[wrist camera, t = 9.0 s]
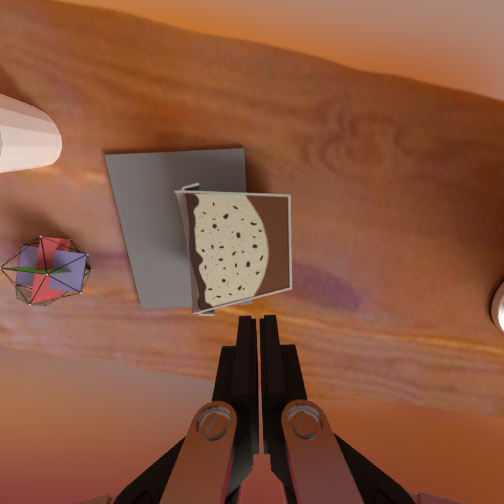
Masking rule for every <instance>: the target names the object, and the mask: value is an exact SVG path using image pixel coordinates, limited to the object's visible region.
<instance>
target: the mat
mask: <svg viewBox="0 0 504 504" xmlns="http://www.w3.org/2000/svg"><path fill="white" fill-rule="evenodd" d="M104 156H105V160H106V165H107V169H108V173H109V177H110V181H111V185H112V189H113V194H114V198H115V202H116V206H117V210H118V214H119V218H120V222H121V227H122V231H123V235H124V239H125V243H126V247H127V251H128V256H129V260H130V264H131V268H132V272H133V276H134V280H135V285H136V289H137V293H138V297H139V301H140V305H141V309H150V308H173V307H192V293H191V280H190V269H189V260H188V252H187V245H186V238H185V232H184V226H183V220H182V215H181V210H180V206H179V202H178V198H177V195H176V193H175V192H174V191H179V190H182V187H184V186H188V185H192V184H195V183H199V188H200V191H213V192H240V193H247V188H246V169H245V149H244V148H238V149H217V150H196V151H175V152H154V153H134V154H113V155H104ZM242 304H252V300H248V301H244V302H241V303H237V304H233V305H242Z"/></svg>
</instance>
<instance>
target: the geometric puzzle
mask: <svg viewBox="0 0 504 504" xmlns="http://www.w3.org/2000/svg"><path fill="white" fill-rule="evenodd" d="M39 238H40V244H39V243H35V244H39V248H38V247H31V246H30V245H31V244H26V245H29V246H24V244H23V245H21V246H22V247H21V252H20V259H19V265H18V267H11V268H1V267H3V266H4V265H5V263H6V262H7V261H8V260H7V261H6V262H5V263H4V264H3V265H2V266H1V267H0V269H1V270H2V269H7V270H14V271H17V277H16V283H15V285H16V296H17V299H19V300H21V301H23V302H25V303H27V304H29V305H39V306H47V305H49V304H50V303H52V302H54V301H55V300H57V299H59V298H62V297H65V296H63V295H64V294H63V295H62V296H61V294H62V290H63V291H67V292H68V291H71V292H79V293H82V290H83V289H82V286H83V279H84V276H85V275H84V273H85V271H86V270H90V271H91V270H92V269H85V267H86V264H87V263H86V261H87V256H88V254H85V253H84V254H81V253H83V252H81V253H80V251H78V249H77V248H76V246H75V245H74V244H73V245H74V246H75V248H76V249H77V250H76V251H78V252H79V253H74V252H68V251H69V248H70V247H69V245H70V240H71V239H63V238H53V237H42V236H40V237H38V239H39ZM36 239H37V238H36ZM38 239H37V240H38ZM34 240H35V239H34ZM32 241H33V240H32ZM35 241H36V240H35ZM35 241H34V242H35ZM30 242H31V241H30ZM34 242H33V243H34ZM71 242H72V241H71ZM72 243H73V242H72ZM77 246H78V245H77ZM78 247H79V246H78ZM79 248H80V247H79ZM71 249H72V248H71ZM73 250H75V249H73ZM17 255H18V254H17ZM17 255H16V256H17ZM16 256H15V257H16ZM13 258H14V257H13ZM13 258H12V259H13ZM12 259H11V260H12ZM88 260H89V259H88ZM8 262H9V261H8ZM8 262H7V263H8ZM7 263H6V264H7ZM89 264H90V263H89ZM87 265H88V264H87ZM88 267H89V266H88ZM89 268H91V267H89ZM2 271H3V270H2ZM90 271H89V272H90ZM89 272H88V273H89ZM3 273H4V274H6V273H5V272H4V271H3ZM89 274H90V273H89ZM6 275H7V274H6ZM88 276H89V275H88ZM7 278H8V277H7ZM8 279H9V278H8ZM9 280H10V279H9ZM86 281H87V280H86ZM85 283H86V282H85ZM12 284H13V283H12ZM13 285H14V284H13ZM18 285H19V286H18ZM22 285H25V286H33V287H32V288H30V289H32V292H31V291H29V290H26V289H24V288H22V287H20V286H22ZM25 286H23V287H25ZM26 288H29V287H26ZM83 288H84V287H83ZM77 294H78V293H77ZM72 295H74V294H72ZM67 296H70V295H67Z"/></svg>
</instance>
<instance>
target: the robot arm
mask: <svg viewBox="0 0 504 504" xmlns="http://www.w3.org/2000/svg"><path fill="white" fill-rule="evenodd" d="M491 313H492V319H493V322H494V323H495V325H496V326H497V328H498V329H500V330H501V331H502V332H504V282H503V283H502V284H501V286H500V287H499V289H498V290H497V292H496V294H495V296H494V299H493V302H492V308H491ZM260 355H261V393H262V418H263V441H264V454H270V464H271V470H272V472H273V473H274V474H275V475H276V476H277V477H278V478H279V479H280V480H281V482H282V489H283V494H284V499H285V504H465V503H461V502H457V501H453V500H449V499H445V498H442V497H438V496H434V495H431V494H427V493H423V492H419V491H418V494H417V495H416V494H411V493H408V492H406V491H405V490H404V489H403V488H402V487H401V486H400V485H399V484H398V483H397V482H395V481H394V480H393V479H392V478H390V477H389V476H388V475H386V474H385V473H384V472H383V471H381V470H380V469H379V468H378V467H376V466H375V465H374V464H373V463H371V462H370V461H369V460H367V459H366V458H365V457H364V456H362V455H361V454H360V453H359V452H357V451H356V450H354V448H352V447H351V446H350V445H348V444H347V443H346V442H345V441H343V440H342V439H341V438H340V437H338V436H337V435H336V434H334V433H333V431H332V429H331V426H330V424H329V422H328V420H327V417H326V415H325V414H324V412H323V410H322V409H321V408H319V406H317V405H316V404H314V403H313V402H311V401H308V400H307V396H306V391H305V387H304V382H303V378H302V373H301V369H300V364H299V359H298V355H297V350H296V346H295V344H293V345H280V342H279V335H278V327H277V320H276V315H264V318H262V319H260ZM258 397H259V396H258V354H257V332H256V319H251V316H239V324H238V333H237V342H236V346H223V347H222V349H221V354H220V360H219V365H218V370H217V376H216V381H215V387H214V392H213V398H212V402H210V403H207V404H206V405H204V406H203V407H201V408H200V409H199V410H198V412H197V413H196V414H195V416H194V418H193V420H192V422H191V425H190V427H189V430H188V432H187V435H186V436H185V437H184V438H183V439H182V440H181V441H179V442H178V443H177V444H176V445H175V446H174V447H172V448H171V449H170V450H169V451H168V452H167V453H166V454H164V455H163V456H162V457H161V458H160V459H158V460H157V461H156V462H155V463H154V464H153V465H151V466H150V467H149V468H148V469H147V470H146V471H144V472H143V473H142V474H141V475H140V476H139V477H137V478H136V479H135V480H134V481H133V482H132V483H130V484H129V485H128V486H127V487H126V488H125V489H124V490H123V491H122V492H121V493H120V494H119V495H116V496H113V497H110V495H109V494H106V495H103V496H99V497H96V498H93V499H89V500H86V501H82V502H79V503H75V504H240V499H241V494H242V487H243V480H244V479H245V478H246V477H247V476H248V475H249V473H250V472H251V471H252V465H253V454H259V405H258V404H259V400H258V399H259V398H258Z"/></svg>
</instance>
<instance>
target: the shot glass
mask: <svg viewBox="0 0 504 504" xmlns="http://www.w3.org/2000/svg"><path fill="white" fill-rule="evenodd" d="M61 149H62V142H61V135H60V133H59V131H58V129H57V126H56V124H55V123H54V122H53V121H52V120H51V118H50V117H49V116H48V115H47V114H46V113H45V112H43V111H41V110H39V109H38V108H36V107H34V106H32V105H29V104H27V103H24V102H21V101H19V100H16V99H13V98H11V97H8V96H6V95H3V94H0V173H2V172H9V171H16V170H24V169H31V168H38V167H44V166H47V165H51V164H53V163H54V162H55V161H56V160H57V159H58V158H59V156H60V153H61Z"/></svg>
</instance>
